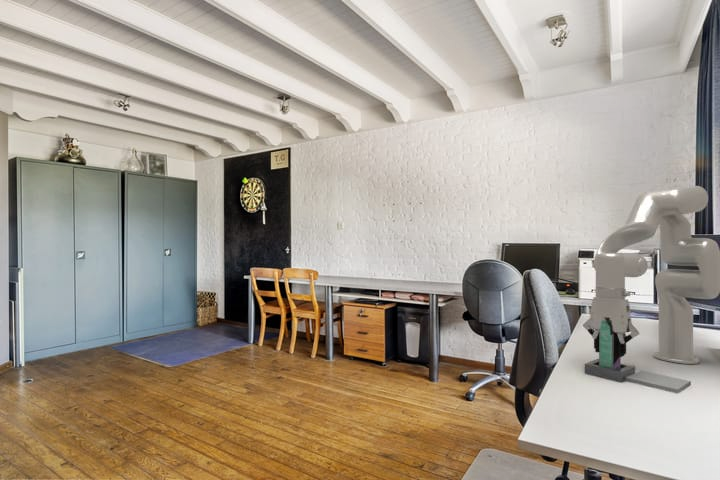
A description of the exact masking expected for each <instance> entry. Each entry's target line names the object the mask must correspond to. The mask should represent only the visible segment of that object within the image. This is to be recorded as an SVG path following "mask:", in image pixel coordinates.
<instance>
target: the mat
mask: <svg viewBox="0 0 720 480" xmlns="http://www.w3.org/2000/svg"><path fill="white" fill-rule="evenodd" d="M625 382H629V383H633V384H637V385H641V386H642V385H643V386H646V387H650V388H653V389H659V390H661V391H662V390H663V391H665V392H671V393H675V394H679V393H681V392H682V391H684V390H685V389H687V388H688V387H690V386H691V383H692V381H691V380H687V379H683V378H682V379H681V378H680V377H679V378H678V377H674V376H668V375H664V374H659V373H655V372H649V371H646V370H638V371H637V372H636V371H635V373H634V374H632V375H630V376H628V377H626V381H625Z"/></svg>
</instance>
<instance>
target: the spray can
mask: <svg viewBox="0 0 720 480" xmlns="http://www.w3.org/2000/svg"><path fill="white" fill-rule="evenodd" d="M603 318H604V319H602V321H601V328H600V330H599V352H598V359H599V366H603V367H607V368H612V369H616V370H619V369H620V367H621V364H622V363H621V359H622V357H619V356H618V343H619V338H618V335H617V333H615V332H614V330H613V326H612V321H611V320H609V319H610V318H608V317H603Z"/></svg>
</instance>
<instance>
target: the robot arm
mask: <svg viewBox="0 0 720 480" xmlns="http://www.w3.org/2000/svg"><path fill="white" fill-rule="evenodd" d="M708 202H709V194H708V192H707V191H706V189H705V188H704V187H702V186H699V185H693V186H692V185H691V186H684V187H683V186H682V187H673V188H664V189H657V190H649V191H644V192H643V193H642V192H641V194H640V195H638V196H637V197H636V200H635V202H634V205H633V206H632V209H631V211H630V212H629V213H630V214H628V218H627V220H626V221H625V224H624V225H623V226H621V227H619V228H617V229H616V230H614V231H613V232H612V233H611V234H608V236H607V237H605V239H604V240H602V242H601V243H600V245H599V247H598V249H597V250H596V252H595V255H594V259H593V268H594V271H595V296H593V297H592V298H593V299H592V300H591V301H592V302H591V307H590V313H589V314H590V315H589V318H588V319H587V320H586V321H585V322H584V323H583V324H582V327H583V328H584V329H585V330H586V331H587V332H588V333H589V334H590V335H591V338H592V339H593V349H594V351H595V353H598V354H599V330H600V328H601V321H602V319H604V318H603V317H608V318H610V319H609V320H611V321H612V326H613V330H614V332H615V333H617V335H618V338H619V343H618V356H619V357H621V358H622V357H623V358H624V357H625V355H626V354H627V343H628V342H630V341H631V340H632V339H634V338H636V337H637V336H638V335H640V332H639V331H638V329H637V328H636V327H635V326H634V325H633V324H632V314H631V313H632V312H631V308H630V302H629V299H626V298H627V297H631V291H627V290H626V282H625V281H626V278H639V277H641V276H643V275H645V274H646V273H647V270H648V267H649V266H648V265H649V264H648V261H647V259H646V258H645V257H644V256H643V255H642V254H639V253H636V252H619V251H621V250H622V249H625V248H626V247H630V246H632V245H635V244H638V243H642V242H644V241H647V240H649V239H651V238H653V236H654V235H655V234H656V232H657V230H658V227H659V234H660V235H659V240H660V241H659V242H660V246H659V248H660V249H659V250H660V252H659V253H660V258H661V261H662V262H663V263H664V264H667V265H670V266H671V265H672V266H684V267H685V266H689V267H698V269H683V268H680V269H679V268H667V269H662V270H660V271H659V272H657V274H656V275H655V279H654V283H655V288H656V293H657V299H658V351H655V352H653V353H652V355H653V357H654V358H656V359H658V360H661V361H665V362H668V363H669V362H670V363H675V364H683V365H697V364H699V363H700V358H698V357H696V356H694V309H693V307H692V306H691V304H690V302H688V300H687V299H686V298H690V299H700V300H712V299H716V298H717V297H718V296H719V294H720V246H719V244H718V243H717V241H716V240H713V239H711V238H707V237H692V227H691V226H692V225H691V222H690V220H689V219H688V218H687V217H686V216H685V215H689V214H694V213H697V212H702V211H703V210H704V209H705V208H706V207H707V205H708ZM627 333H629V334H627ZM626 334H627V335H626Z"/></svg>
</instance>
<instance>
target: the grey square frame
mask: <svg viewBox="0 0 720 480" xmlns="http://www.w3.org/2000/svg"><path fill="white" fill-rule="evenodd" d="M634 373H636V366H635V365H630V364H625V363H621V367H620V369H619V370H616V369H612V368H607V367H603V366H599V358H597V359H594V360H592V361H589V362H586V363H584V374H585V375H589V376H593V377H598V378H602V379H605V380H608V381H613V382H617V383H621V384H623V383H625V382H627V381H626V377H628V376H630V375H632V374H634Z"/></svg>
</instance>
